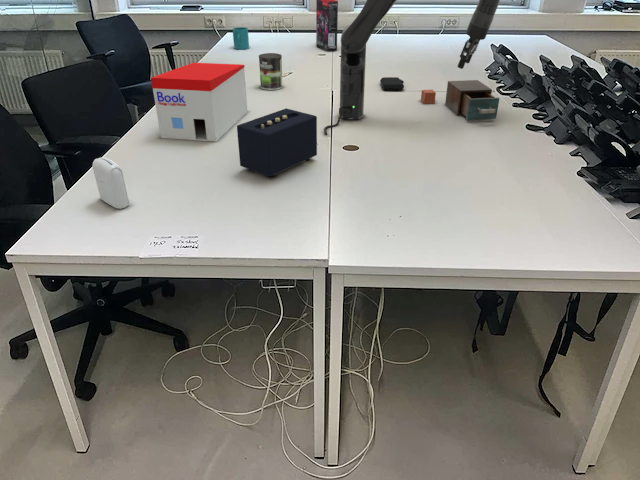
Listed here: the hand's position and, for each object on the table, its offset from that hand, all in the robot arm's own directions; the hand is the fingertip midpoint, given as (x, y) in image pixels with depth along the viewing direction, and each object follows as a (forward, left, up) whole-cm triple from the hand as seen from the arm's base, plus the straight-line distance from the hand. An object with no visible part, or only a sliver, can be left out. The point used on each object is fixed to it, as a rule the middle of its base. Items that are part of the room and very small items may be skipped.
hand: (463, 65), depth 205 cm
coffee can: (+22, +82, -17) cm, 86 cm away
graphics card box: (+111, +68, -17) cm, 131 cm away
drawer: (-12, -6, -16) cm, 21 cm away
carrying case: (+29, +27, -17) cm, 43 cm away
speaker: (-67, +60, -17) cm, 91 cm away
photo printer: (-98, +99, -17) cm, 140 cm away
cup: (+105, +119, -17) cm, 160 cm away
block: (+7, +12, -17) cm, 22 cm away
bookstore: (-32, +95, -17) cm, 101 cm away
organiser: (-1, -3, -17) cm, 17 cm away
